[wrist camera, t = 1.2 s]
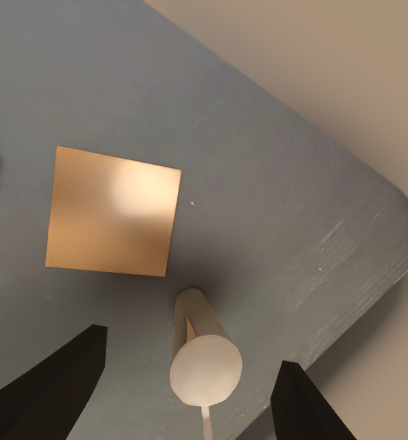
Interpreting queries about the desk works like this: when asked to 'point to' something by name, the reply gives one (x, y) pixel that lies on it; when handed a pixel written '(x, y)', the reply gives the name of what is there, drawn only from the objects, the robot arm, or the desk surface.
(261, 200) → the desk surface
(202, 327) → the milkshake
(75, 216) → the coaster
